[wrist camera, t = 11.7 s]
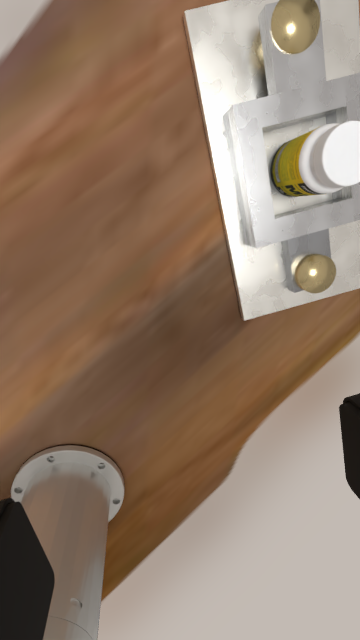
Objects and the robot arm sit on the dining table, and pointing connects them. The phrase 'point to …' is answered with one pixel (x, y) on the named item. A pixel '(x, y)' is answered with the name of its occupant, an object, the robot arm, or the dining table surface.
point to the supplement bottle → (318, 161)
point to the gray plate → (278, 141)
